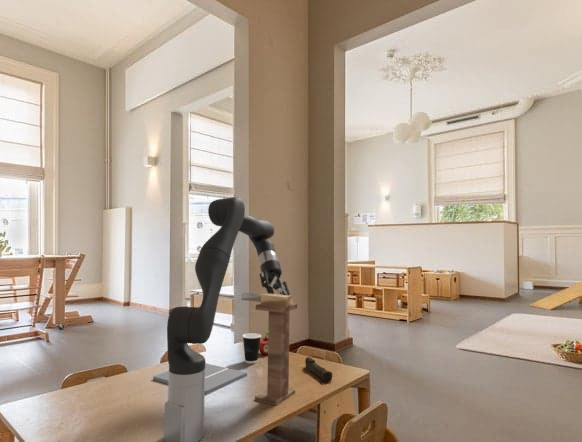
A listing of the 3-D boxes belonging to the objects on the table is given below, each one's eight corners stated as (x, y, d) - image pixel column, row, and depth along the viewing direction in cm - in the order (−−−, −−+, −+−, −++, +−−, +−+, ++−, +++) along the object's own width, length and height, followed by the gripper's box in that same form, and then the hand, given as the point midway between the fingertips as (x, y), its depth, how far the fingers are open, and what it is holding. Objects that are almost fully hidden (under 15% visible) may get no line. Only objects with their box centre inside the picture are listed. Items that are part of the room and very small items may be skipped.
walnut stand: (278, 406, 122) (279, 308, 124) (252, 399, 127) (253, 305, 129) (297, 393, 132) (298, 303, 134) (272, 387, 137) (274, 300, 139)
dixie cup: (259, 358, 172) (259, 332, 172) (262, 364, 164) (262, 337, 164) (241, 359, 170) (241, 333, 170) (242, 365, 162) (243, 338, 163)
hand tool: (332, 382, 144) (332, 369, 145) (322, 383, 143) (322, 370, 143) (312, 366, 162) (312, 355, 162) (303, 367, 161) (303, 356, 161)
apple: (270, 356, 175) (270, 333, 175) (255, 355, 176) (255, 333, 176) (273, 351, 182) (274, 330, 183) (259, 351, 183) (259, 329, 184)
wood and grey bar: (286, 306, 127) (286, 297, 127) (239, 301, 137) (239, 292, 137) (292, 305, 130) (292, 295, 131) (246, 300, 140) (246, 291, 140)
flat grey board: (206, 394, 130) (206, 390, 130) (153, 379, 144) (153, 376, 144) (246, 375, 149) (246, 372, 149) (196, 364, 163) (196, 360, 163)
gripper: (266, 253, 145) (275, 291, 135) (288, 266, 155) (298, 302, 145) (250, 263, 147) (259, 301, 137) (273, 275, 157) (282, 311, 147)
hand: (279, 301), depth 141 cm, fingers open, 8 cm apart
